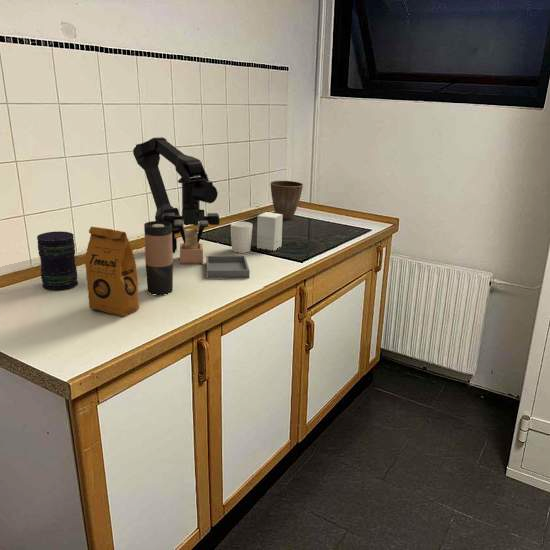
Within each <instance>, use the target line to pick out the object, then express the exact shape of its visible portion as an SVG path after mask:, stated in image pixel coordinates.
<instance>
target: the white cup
mask: <svg viewBox="0 0 550 550" xmlns="http://www.w3.org/2000/svg"><path fill="white" fill-rule="evenodd" d="M252 234H253V223H251V222H249V221H233V222H231V223H230V240H231V251H232V252H233V251H234V253H236V252H239V253H238V254H246V252H247V253H249V252H251V244H252V238H253V237H252Z"/></svg>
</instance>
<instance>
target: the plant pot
mask: <svg viewBox="0 0 550 550" xmlns="http://www.w3.org/2000/svg"><path fill="white" fill-rule="evenodd" d="M269 185H270V194H271V199H272V204H273V208H274V213H276V214H283V218H282V220H293V218H294V216H295V214H296V211H297V209H298V206H299V203H300V200H301V196H302V192H303V187H304V184H303V183H302V182H298V181H292V180H274V181H270V184H269Z"/></svg>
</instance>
